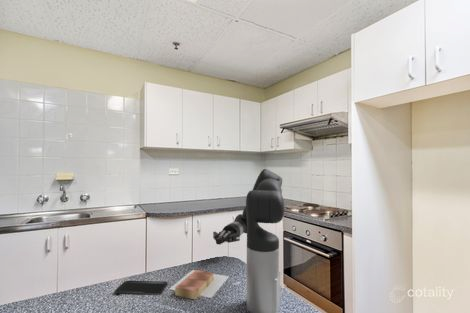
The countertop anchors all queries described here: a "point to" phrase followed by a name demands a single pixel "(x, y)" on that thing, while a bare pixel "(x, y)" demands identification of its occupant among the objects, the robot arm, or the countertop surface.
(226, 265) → the countertop surface
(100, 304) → the countertop surface
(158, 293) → the phone
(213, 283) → the white square pad
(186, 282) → the brown flat rectangular block
